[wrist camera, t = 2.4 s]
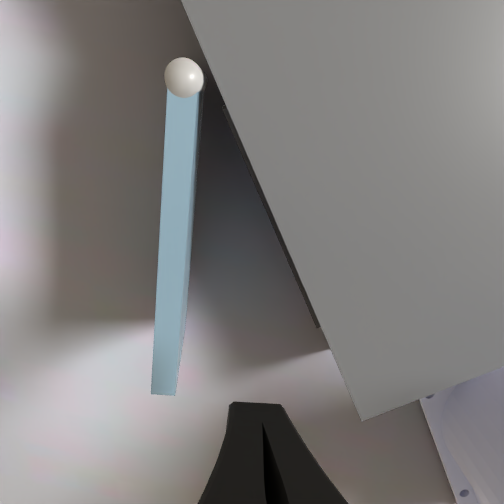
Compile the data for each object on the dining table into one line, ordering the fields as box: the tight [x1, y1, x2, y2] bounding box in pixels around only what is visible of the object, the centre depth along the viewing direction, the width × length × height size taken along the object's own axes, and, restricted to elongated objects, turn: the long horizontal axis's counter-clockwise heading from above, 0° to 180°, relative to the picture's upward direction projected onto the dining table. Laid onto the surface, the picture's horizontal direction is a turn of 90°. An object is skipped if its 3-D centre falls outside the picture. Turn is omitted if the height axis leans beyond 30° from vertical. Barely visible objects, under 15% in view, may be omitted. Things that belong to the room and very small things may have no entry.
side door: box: [151, 57, 207, 396], centre depth 16 cm, size 10×1×5 cm, turn 173°
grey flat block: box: [181, 0, 504, 422], centre depth 16 cm, size 20×10×5 cm, turn 23°
